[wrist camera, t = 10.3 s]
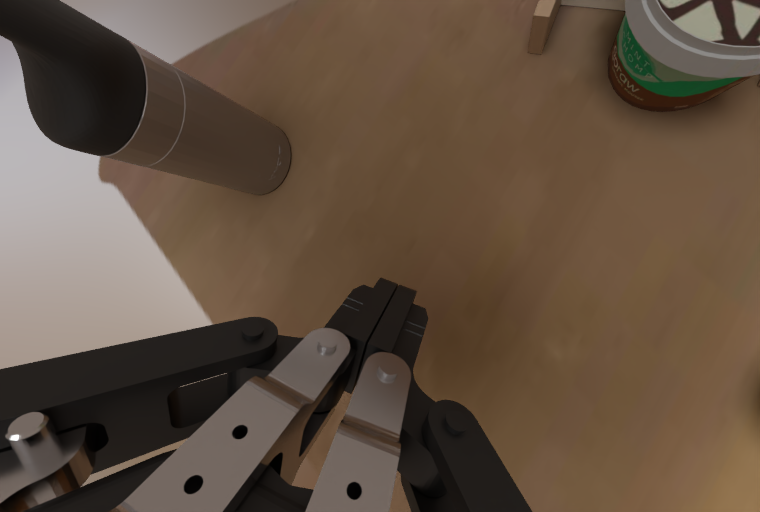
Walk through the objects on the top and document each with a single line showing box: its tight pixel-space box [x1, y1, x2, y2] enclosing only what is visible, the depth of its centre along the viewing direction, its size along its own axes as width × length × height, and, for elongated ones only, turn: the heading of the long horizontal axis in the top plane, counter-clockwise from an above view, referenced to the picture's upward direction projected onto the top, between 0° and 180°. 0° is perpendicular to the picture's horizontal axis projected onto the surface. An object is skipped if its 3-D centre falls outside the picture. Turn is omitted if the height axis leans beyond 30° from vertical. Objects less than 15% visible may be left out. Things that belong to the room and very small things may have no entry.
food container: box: [608, 0, 760, 112], centre depth 22 cm, size 12×6×10 cm, turn 35°
